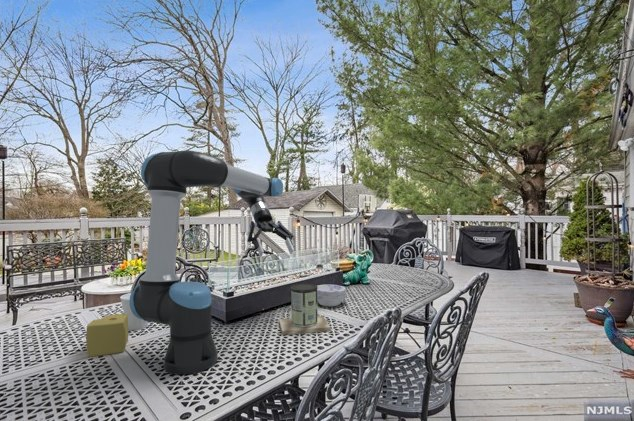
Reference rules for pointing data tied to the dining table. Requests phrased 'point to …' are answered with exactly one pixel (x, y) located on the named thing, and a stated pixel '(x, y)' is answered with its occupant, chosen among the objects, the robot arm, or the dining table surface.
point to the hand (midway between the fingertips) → (277, 252)
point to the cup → (132, 315)
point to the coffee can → (304, 305)
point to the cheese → (107, 335)
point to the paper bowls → (330, 295)
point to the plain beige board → (291, 329)
